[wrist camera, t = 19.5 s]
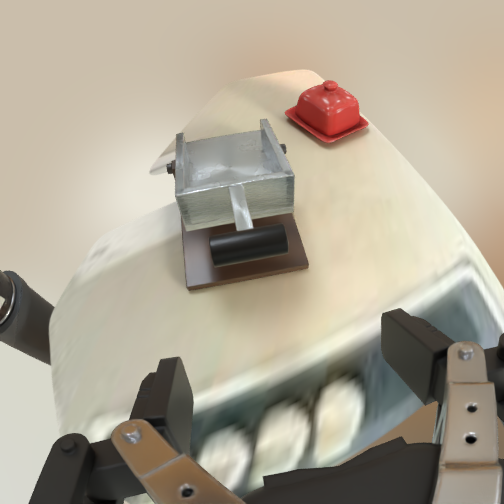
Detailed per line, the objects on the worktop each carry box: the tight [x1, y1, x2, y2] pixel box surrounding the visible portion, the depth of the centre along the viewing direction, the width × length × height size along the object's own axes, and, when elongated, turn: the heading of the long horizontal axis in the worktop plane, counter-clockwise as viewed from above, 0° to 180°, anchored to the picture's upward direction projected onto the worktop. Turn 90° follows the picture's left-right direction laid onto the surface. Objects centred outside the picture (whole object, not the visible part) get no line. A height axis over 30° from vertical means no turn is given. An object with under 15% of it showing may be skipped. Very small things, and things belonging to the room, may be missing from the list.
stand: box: [167, 144, 309, 291], centre depth 36 cm, size 13×14×9 cm
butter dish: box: [285, 80, 368, 143], centre depth 48 cm, size 12×12×8 cm
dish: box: [175, 119, 295, 267], centre depth 29 cm, size 22×10×5 cm, turn 11°
